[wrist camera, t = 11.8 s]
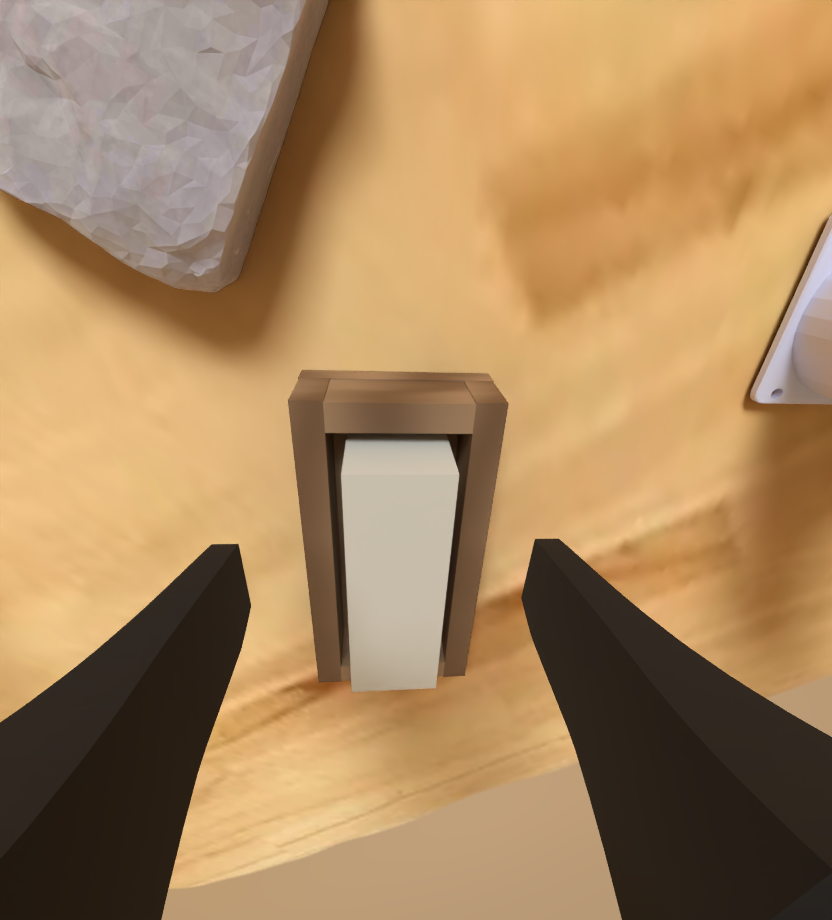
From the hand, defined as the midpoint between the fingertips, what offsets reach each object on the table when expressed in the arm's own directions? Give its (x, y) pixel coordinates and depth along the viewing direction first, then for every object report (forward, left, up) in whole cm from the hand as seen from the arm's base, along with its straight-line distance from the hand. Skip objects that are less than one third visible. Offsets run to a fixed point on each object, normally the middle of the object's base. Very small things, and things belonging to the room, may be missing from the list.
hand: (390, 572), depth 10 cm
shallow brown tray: (-1, +6, -10) cm, 12 cm away
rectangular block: (-1, +6, -9) cm, 11 cm away
